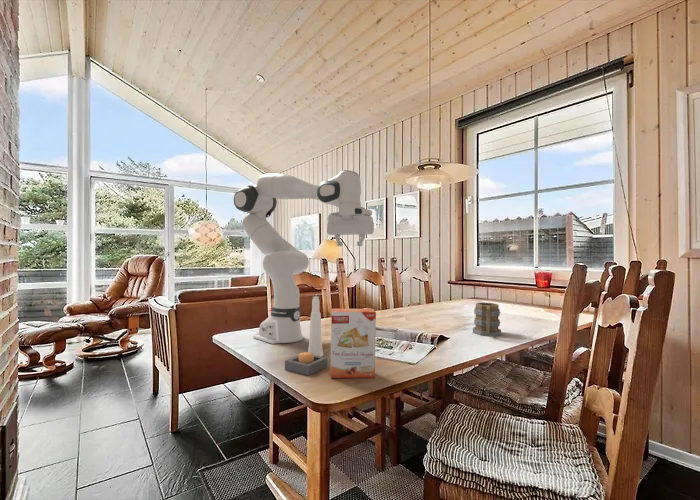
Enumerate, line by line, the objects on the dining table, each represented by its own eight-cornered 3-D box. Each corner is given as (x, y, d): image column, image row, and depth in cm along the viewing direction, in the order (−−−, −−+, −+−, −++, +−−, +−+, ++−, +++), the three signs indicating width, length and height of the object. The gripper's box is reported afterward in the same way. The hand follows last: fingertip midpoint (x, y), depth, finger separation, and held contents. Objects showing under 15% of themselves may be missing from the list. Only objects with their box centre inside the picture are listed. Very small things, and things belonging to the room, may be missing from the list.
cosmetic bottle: (315, 352, 137) (316, 295, 137) (326, 355, 133) (327, 296, 133) (303, 355, 133) (304, 296, 133) (315, 358, 129) (315, 298, 129)
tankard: (473, 329, 179) (473, 299, 179) (500, 331, 174) (501, 300, 174) (471, 338, 161) (471, 305, 161) (501, 341, 156) (502, 307, 156)
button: (295, 366, 118) (295, 354, 118) (305, 362, 122) (305, 351, 122) (307, 369, 115) (307, 357, 115) (316, 365, 120) (316, 353, 120)
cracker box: (330, 379, 109) (330, 311, 109) (330, 372, 115) (330, 307, 115) (375, 378, 110) (376, 311, 110) (373, 371, 116) (373, 307, 116)
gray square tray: (284, 369, 117) (284, 360, 117) (303, 361, 126) (304, 353, 126) (308, 375, 112) (308, 366, 112) (327, 366, 120) (327, 357, 120)
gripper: (323, 212, 144) (323, 246, 144) (368, 209, 134) (367, 246, 134) (332, 213, 150) (332, 246, 150) (375, 211, 139) (375, 246, 139)
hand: (349, 246), depth 142 cm, fingers open, 8 cm apart
